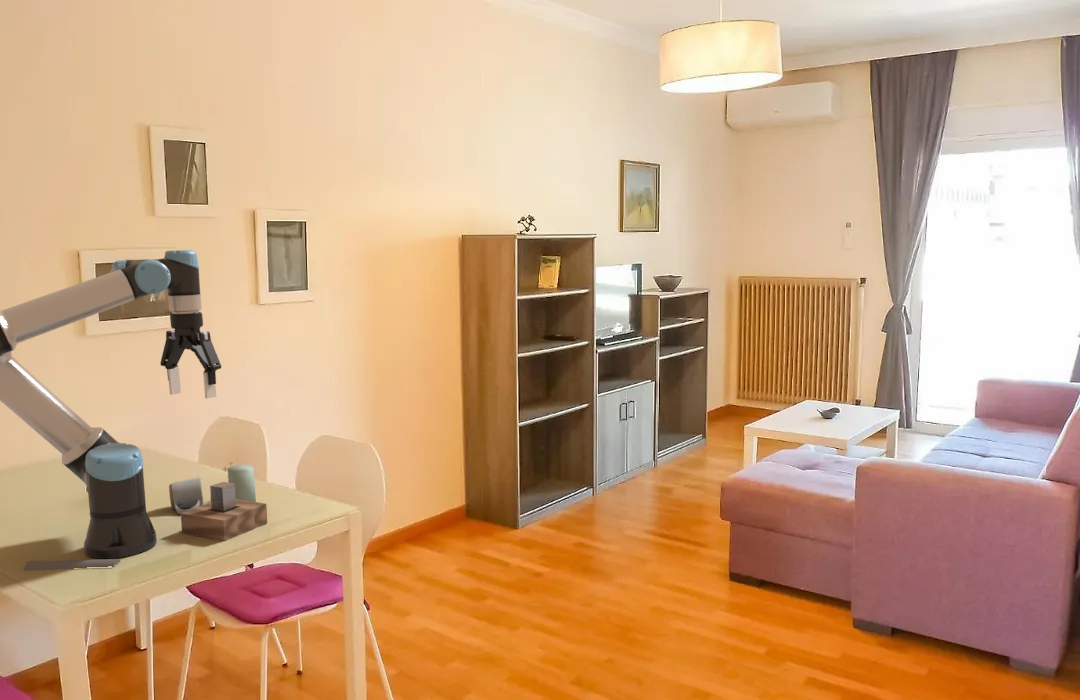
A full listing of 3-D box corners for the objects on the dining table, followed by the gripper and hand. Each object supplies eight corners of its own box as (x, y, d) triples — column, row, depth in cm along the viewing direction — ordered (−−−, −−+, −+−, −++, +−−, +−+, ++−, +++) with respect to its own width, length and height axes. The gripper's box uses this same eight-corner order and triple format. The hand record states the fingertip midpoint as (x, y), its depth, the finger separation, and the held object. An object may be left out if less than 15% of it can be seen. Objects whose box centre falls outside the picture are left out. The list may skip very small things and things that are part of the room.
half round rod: (113, 571, 188) (112, 563, 188) (22, 573, 188) (21, 565, 188) (122, 564, 192) (121, 556, 192) (33, 566, 192) (32, 558, 192)
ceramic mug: (170, 505, 233) (168, 477, 232) (203, 501, 236) (201, 474, 235) (171, 517, 223) (168, 488, 222) (205, 513, 227) (203, 484, 226)
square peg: (225, 531, 211) (222, 487, 210) (213, 529, 213) (210, 486, 211) (237, 526, 214) (234, 483, 213) (225, 524, 216) (222, 481, 215)
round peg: (243, 513, 225) (240, 472, 224) (224, 510, 228) (222, 469, 227) (261, 506, 231) (259, 465, 230) (243, 503, 234) (240, 463, 233)
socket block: (224, 540, 204) (223, 520, 204) (182, 533, 210) (180, 513, 210) (267, 523, 217) (266, 503, 216) (225, 516, 223) (224, 497, 222)
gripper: (232, 311, 214) (238, 396, 217) (167, 309, 226) (173, 389, 229) (206, 314, 207) (213, 401, 210) (141, 312, 220) (148, 394, 223)
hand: (192, 395), depth 220 cm, fingers open, 13 cm apart
